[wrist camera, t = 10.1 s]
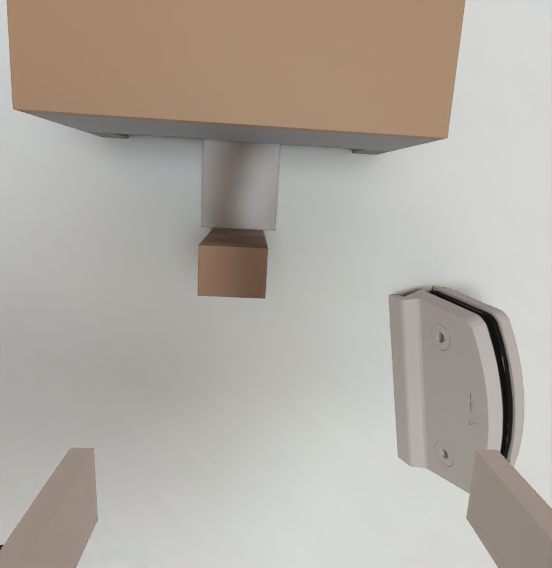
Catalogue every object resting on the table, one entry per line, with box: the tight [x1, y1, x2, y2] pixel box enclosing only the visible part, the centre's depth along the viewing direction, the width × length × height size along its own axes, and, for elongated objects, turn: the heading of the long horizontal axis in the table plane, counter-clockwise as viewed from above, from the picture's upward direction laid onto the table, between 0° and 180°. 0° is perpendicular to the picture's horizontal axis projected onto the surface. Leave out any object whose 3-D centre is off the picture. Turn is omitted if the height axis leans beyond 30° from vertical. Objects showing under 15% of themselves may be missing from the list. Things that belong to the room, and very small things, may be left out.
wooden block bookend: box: [198, 139, 280, 299], centre depth 31 cm, size 6×20×12 cm, turn 177°
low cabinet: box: [7, 0, 465, 155], centre depth 29 cm, size 22×11×14 cm, turn 87°
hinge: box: [389, 286, 524, 493], centre depth 38 cm, size 17×5×10 cm, turn 6°
